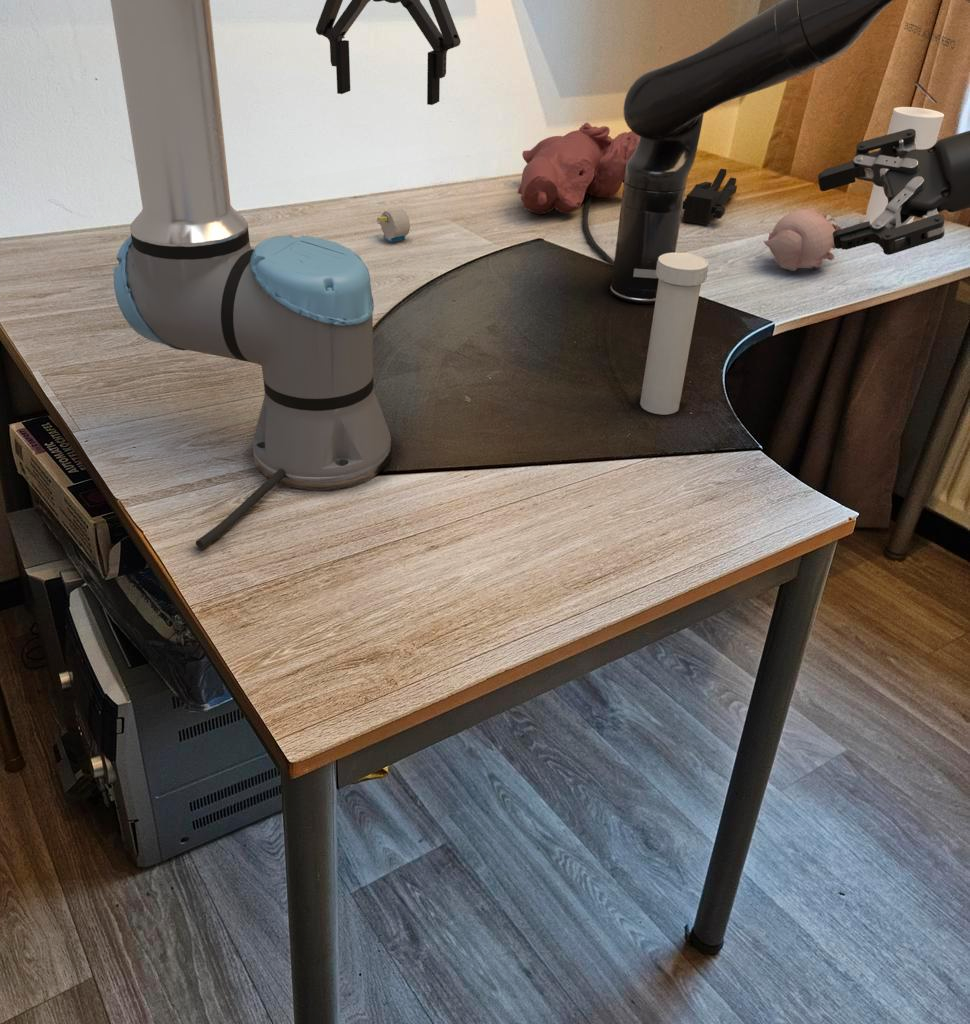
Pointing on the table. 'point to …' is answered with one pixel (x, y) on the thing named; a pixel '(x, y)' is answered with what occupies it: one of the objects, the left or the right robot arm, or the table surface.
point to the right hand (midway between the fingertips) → (826, 211)
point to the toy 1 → (708, 200)
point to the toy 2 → (802, 239)
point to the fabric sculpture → (575, 168)
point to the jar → (669, 347)
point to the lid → (682, 269)
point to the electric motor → (394, 225)
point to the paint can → (926, 137)
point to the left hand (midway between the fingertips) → (388, 97)
